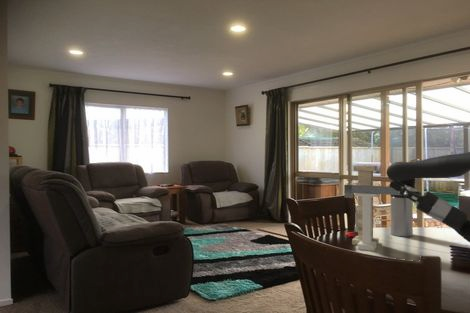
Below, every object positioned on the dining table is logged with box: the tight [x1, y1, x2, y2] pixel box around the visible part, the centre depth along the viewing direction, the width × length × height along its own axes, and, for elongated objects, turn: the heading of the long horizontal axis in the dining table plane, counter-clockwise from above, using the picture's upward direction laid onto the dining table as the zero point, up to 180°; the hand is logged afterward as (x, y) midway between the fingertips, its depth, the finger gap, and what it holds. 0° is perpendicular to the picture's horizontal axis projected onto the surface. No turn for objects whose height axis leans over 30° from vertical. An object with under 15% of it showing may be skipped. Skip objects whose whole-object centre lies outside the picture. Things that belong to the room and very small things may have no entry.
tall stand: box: [351, 164, 380, 247], centre depth 152 cm, size 8×9×32 cm
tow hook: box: [344, 207, 358, 238], centre depth 168 cm, size 8×13×9 cm
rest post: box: [354, 193, 380, 252], centre depth 144 cm, size 6×8×22 cm
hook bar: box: [343, 184, 406, 199], centre depth 143 cm, size 3×22×5 cm, turn 61°
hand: (391, 182), depth 140 cm, fingers open, 8 cm apart
